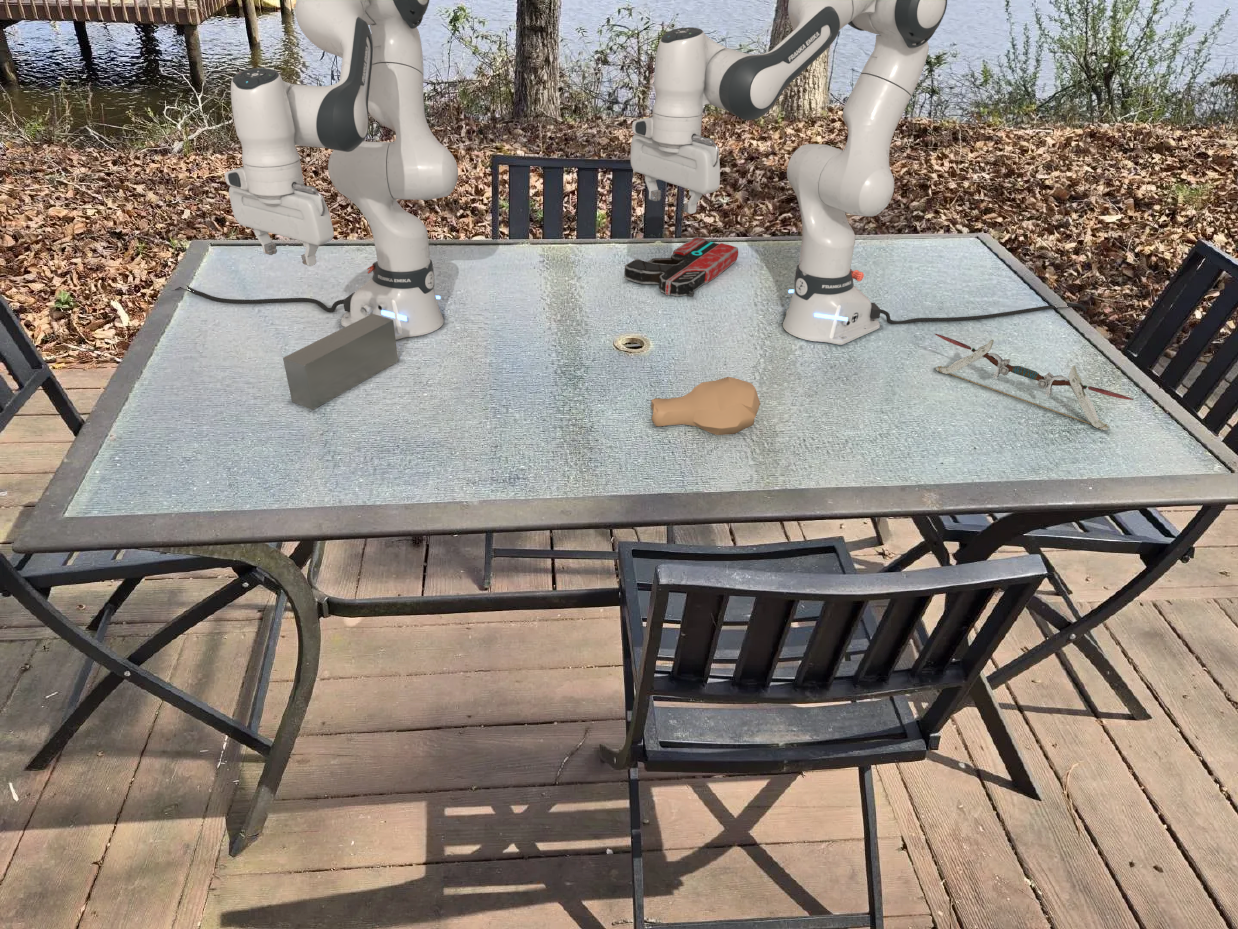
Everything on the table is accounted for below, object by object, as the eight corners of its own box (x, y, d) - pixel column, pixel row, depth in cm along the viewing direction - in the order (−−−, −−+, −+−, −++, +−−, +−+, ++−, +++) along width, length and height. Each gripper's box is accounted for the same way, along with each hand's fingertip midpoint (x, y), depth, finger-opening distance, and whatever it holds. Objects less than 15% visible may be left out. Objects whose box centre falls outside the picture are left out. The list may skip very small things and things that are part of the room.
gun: (618, 266, 215) (688, 285, 207) (677, 229, 237) (743, 245, 229) (618, 283, 218) (687, 302, 210) (676, 245, 240) (741, 261, 232)
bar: (313, 410, 163) (304, 365, 158) (291, 402, 166) (282, 357, 160) (398, 361, 180) (393, 319, 175) (378, 354, 183) (372, 313, 177)
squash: (764, 441, 158) (764, 403, 152) (653, 450, 160) (649, 412, 153) (757, 403, 166) (757, 365, 160) (652, 411, 167) (648, 374, 161)
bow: (1121, 432, 163) (1140, 385, 158) (1118, 436, 162) (1137, 389, 157) (928, 364, 185) (939, 321, 179) (924, 367, 184) (935, 323, 178)
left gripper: (335, 183, 142) (347, 265, 150) (247, 164, 150) (263, 242, 158) (306, 193, 138) (320, 277, 145) (216, 172, 146) (234, 252, 153)
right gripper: (731, 138, 152) (724, 217, 160) (650, 116, 165) (647, 190, 172) (706, 143, 149) (700, 223, 156) (625, 120, 161) (623, 196, 169)
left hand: (290, 258), depth 152 cm, fingers open, 8 cm apart
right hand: (672, 206), depth 164 cm, fingers open, 8 cm apart
